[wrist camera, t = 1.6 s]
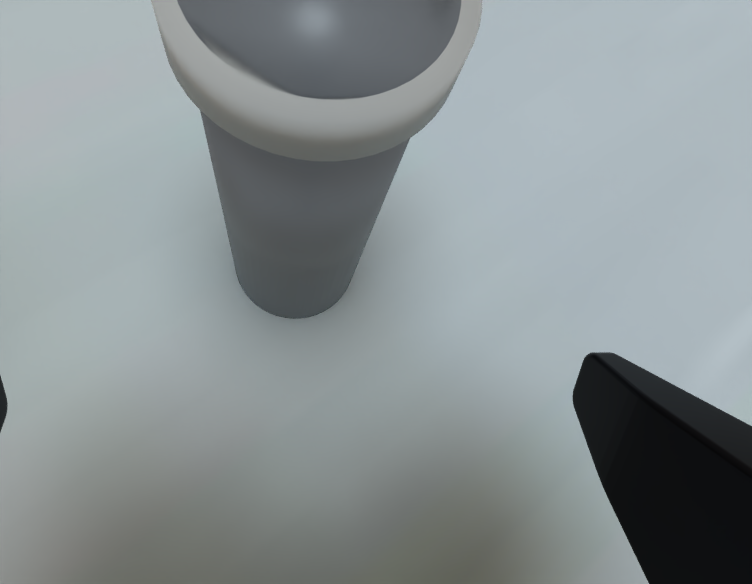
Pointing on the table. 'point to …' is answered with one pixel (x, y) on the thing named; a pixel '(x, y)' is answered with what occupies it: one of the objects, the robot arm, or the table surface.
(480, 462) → the table surface
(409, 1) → the tube
